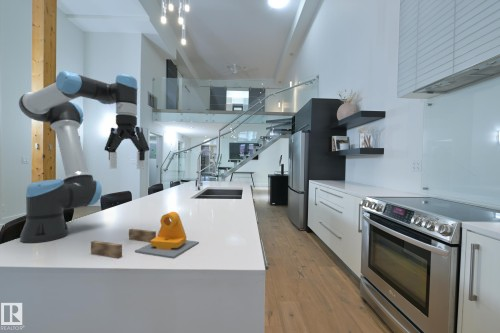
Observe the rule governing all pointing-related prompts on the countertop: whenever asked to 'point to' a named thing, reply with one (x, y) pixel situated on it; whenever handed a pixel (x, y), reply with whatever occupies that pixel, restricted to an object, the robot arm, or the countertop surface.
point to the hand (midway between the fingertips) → (126, 168)
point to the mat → (167, 253)
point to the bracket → (170, 232)
